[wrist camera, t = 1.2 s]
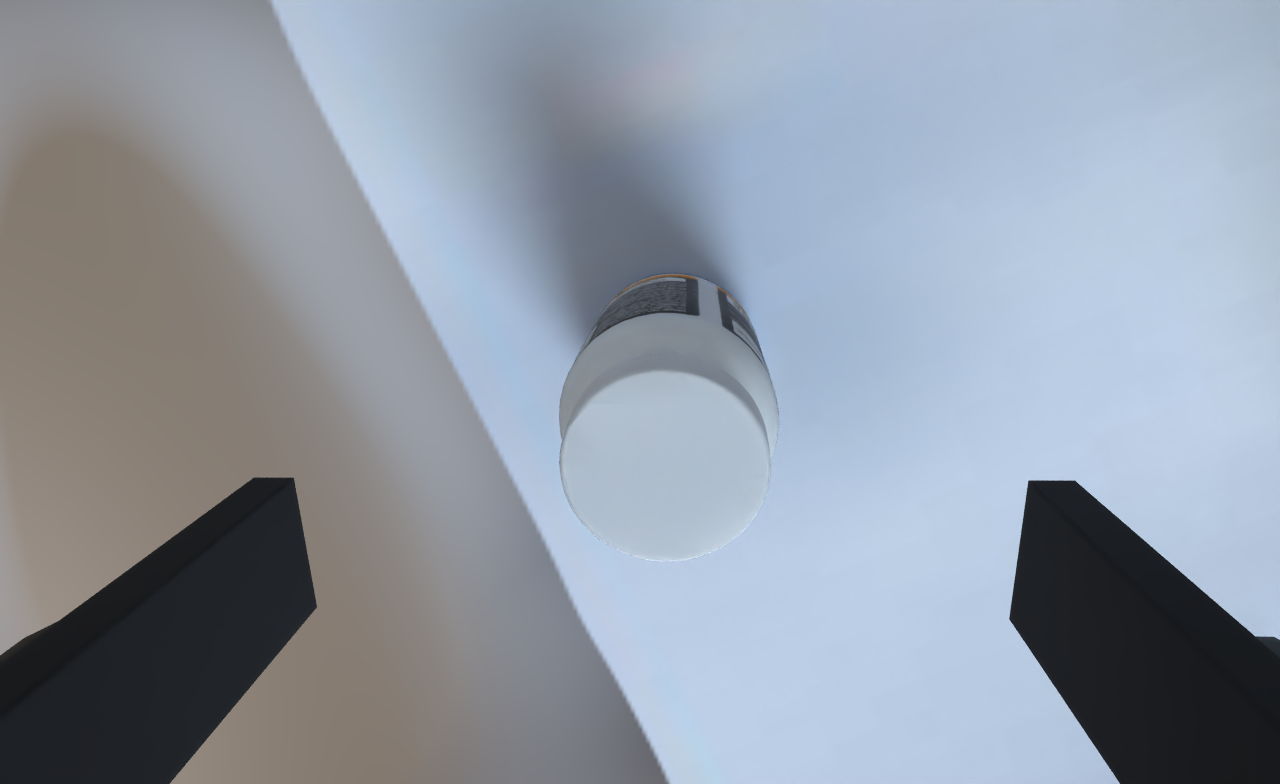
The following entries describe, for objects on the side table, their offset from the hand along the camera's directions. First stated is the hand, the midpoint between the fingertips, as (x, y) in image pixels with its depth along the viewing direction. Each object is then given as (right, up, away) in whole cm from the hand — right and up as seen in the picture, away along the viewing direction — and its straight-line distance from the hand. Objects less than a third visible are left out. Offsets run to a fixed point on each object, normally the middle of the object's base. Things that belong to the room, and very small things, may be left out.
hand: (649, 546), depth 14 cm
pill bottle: (+1, +4, +12) cm, 13 cm away
